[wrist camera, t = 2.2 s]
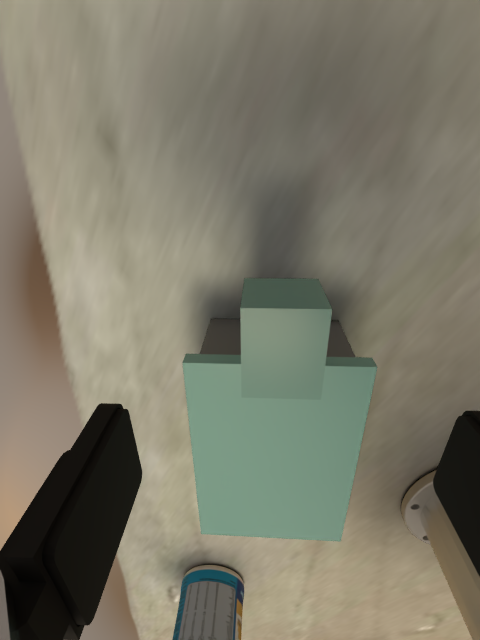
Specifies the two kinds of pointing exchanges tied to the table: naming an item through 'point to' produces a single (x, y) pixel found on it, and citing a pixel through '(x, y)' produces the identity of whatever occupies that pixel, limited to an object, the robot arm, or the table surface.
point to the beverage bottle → (210, 605)
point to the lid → (277, 419)
